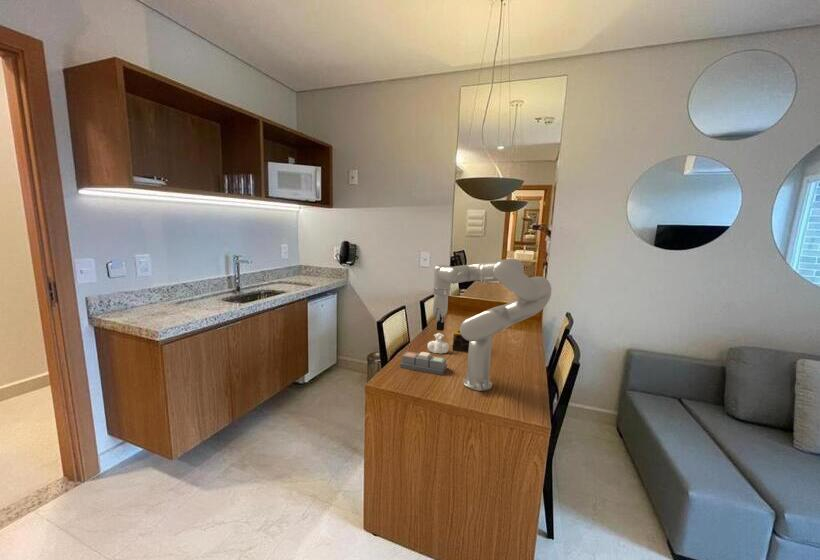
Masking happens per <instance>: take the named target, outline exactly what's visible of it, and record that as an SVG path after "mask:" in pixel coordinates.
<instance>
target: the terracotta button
mask: <svg viewBox="0 0 820 560" xmlns="http://www.w3.org/2000/svg"><path fill="white" fill-rule="evenodd" d="M414 353H415V352H413V353H407V354H406V355H405V356H410V357H414V356H415V355H416V354H414Z"/></svg>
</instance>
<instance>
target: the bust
mask: <svg viewBox="0 0 820 560" xmlns="http://www.w3.org/2000/svg"><path fill="white" fill-rule="evenodd" d="M433 336H434V337H435V340H431V341H429V342H428V343H427V349H428V350H427V351H429V353H430V352H431V353H433V354H441V355H442V354H446V353H448V351H449V349H450V345H449V343H447V342H446V341H443V338H444V337H445V335H444V334H443V333H440V332H437V333H436V334H435V333H434V334H433Z"/></svg>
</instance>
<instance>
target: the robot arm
mask: <svg viewBox="0 0 820 560" xmlns="http://www.w3.org/2000/svg"><path fill="white" fill-rule="evenodd" d="M524 270H525V269H524V265H523V263H522V261H521V260H519V259H516V258H507V259H498V260H497V259H496V260H488V261H482V262H480V263H474V264H472V263H471V264H463V265H455V266H450V265H446V264H438V265H435V266H434V270H433V293H432V294H433V295H434V296H433V297H434V298H433V304H432V306H433V307H432V316H433V317H436V331H440V332H444V330H445V318H446V317H445V316H446V314H447V313H448V308H449V307H448V305H449V303H448V302H449V300H448V299H449V297H450V295H451V284H454V285H455V284H459V283H465V282H473V281H483V282H484V283H487V282H488V283H489V282H499V283H500V284H502V285H503V286H504V287H505V288H506V289H507V290H508V291H510V292H511V293H512V294H513V295H515V296H516V297H517V298H515V299H513V300H511V301H510V302H507V303H505V304H502V305H497V306H493V307H492V308H488V309H486V310H484V311H482V312H480V313H477V314H474V315H473V316H470V317H468V318H466V319H464V320H463V322H461V325H460V328H459V329H460V333H461V335H462V337H463V338H464V339H466V340H468V341H470V342H469V351H468V352H467V353H468V354H467V369H466V376H465V377H463V379H462V384H463V385H464V387H466V388H468V389H470V390H474V391H477V392H478V391H479V392H480V391H481V392H483V391H489V390H491V388H492V387H493V382H492V381H491V380H490V369H491V368H490V367H491V357H492V356H491V355H492V346H493V344H492V343H493V338H494V335H495V334H497V333H500V332H502V331H504V330H506V329H508V328H510V327H511V326H512V325H514V324H518V323H520V322H522V321H524V320H526V319H529V318H531V317H534V316H535V315H537V314H538V313H539V312H541V311H543V309H545V307H546V306H547V305H548V303H549V301H550V299H551V297H552V285H551V283H550V282H551V281H549V280H548V279H547V278H546V277H544V276H540V275H539V276H531V277H530V276H528V275H527V274H526V273H525V272H524Z"/></svg>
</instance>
